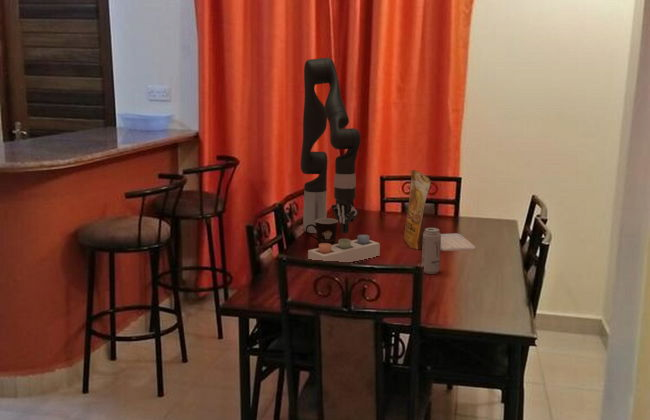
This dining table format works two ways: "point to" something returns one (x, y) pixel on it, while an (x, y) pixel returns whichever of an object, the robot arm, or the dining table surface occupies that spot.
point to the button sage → (344, 244)
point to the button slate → (363, 239)
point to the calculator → (455, 243)
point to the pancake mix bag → (416, 209)
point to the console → (347, 252)
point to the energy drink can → (431, 250)
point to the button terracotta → (324, 248)
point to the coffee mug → (325, 230)
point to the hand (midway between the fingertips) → (344, 233)
